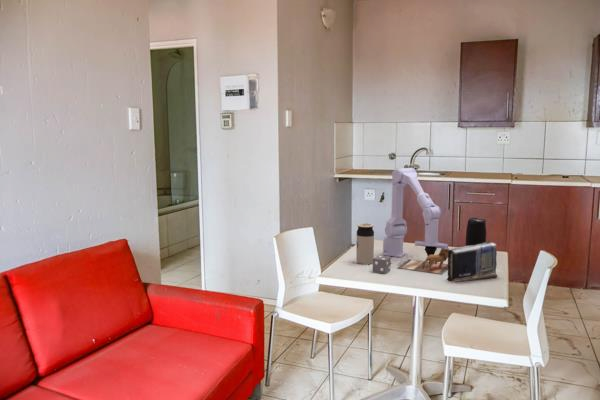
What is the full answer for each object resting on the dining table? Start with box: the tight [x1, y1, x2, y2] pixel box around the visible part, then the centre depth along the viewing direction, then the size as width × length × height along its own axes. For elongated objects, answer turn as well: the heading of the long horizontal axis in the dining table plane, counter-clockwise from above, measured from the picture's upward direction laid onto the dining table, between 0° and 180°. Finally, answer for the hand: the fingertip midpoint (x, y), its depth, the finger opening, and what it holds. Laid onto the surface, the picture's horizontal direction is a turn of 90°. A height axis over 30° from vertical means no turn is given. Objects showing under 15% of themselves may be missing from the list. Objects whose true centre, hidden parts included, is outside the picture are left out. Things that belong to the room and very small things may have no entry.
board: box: [397, 258, 448, 275], centre depth 227 cm, size 20×17×1 cm
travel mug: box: [356, 222, 375, 265], centre depth 234 cm, size 8×8×18 cm
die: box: [372, 255, 392, 275], centre depth 220 cm, size 6×6×6 cm
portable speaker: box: [465, 217, 487, 246], centre depth 238 cm, size 9×9×20 cm
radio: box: [446, 240, 499, 284], centre depth 209 cm, size 23×9×15 cm, turn 101°
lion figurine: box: [421, 247, 450, 270], centre depth 222 cm, size 15×5×9 cm, turn 129°
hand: (430, 262), depth 225 cm, fingers closed, pressing on lion figurine
